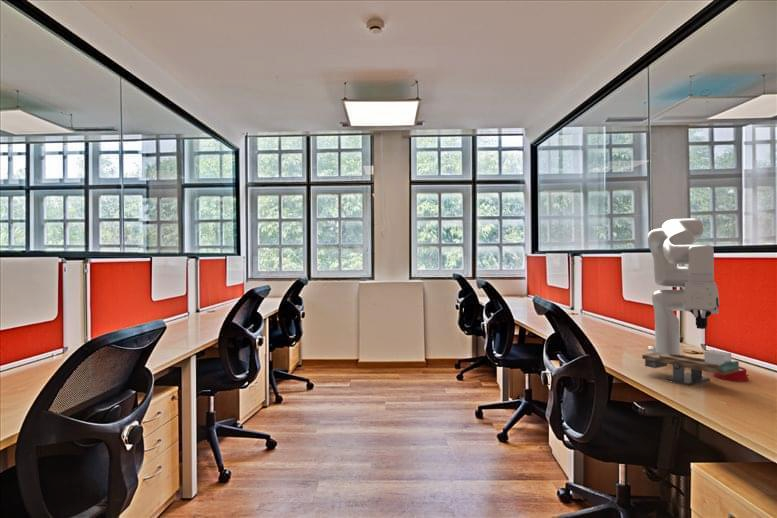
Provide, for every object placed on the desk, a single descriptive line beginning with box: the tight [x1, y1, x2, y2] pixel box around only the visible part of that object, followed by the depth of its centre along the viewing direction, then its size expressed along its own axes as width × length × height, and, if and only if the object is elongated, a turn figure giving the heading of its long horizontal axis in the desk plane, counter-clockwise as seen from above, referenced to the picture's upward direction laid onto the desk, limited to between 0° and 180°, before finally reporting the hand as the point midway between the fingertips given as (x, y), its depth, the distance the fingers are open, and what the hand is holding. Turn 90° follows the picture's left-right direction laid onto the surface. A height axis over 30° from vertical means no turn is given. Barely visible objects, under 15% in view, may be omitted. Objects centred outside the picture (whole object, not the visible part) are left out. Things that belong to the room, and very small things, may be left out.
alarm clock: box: [713, 366, 750, 383], centre depth 163 cm, size 10×6×15 cm
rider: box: [704, 349, 732, 367], centre depth 150 cm, size 6×5×5 cm
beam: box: [641, 352, 740, 375], centre depth 159 cm, size 28×10×6 cm, turn 28°
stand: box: [665, 364, 711, 387], centre depth 159 cm, size 8×15×7 cm, turn 118°
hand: (701, 328), depth 155 cm, fingers closed
